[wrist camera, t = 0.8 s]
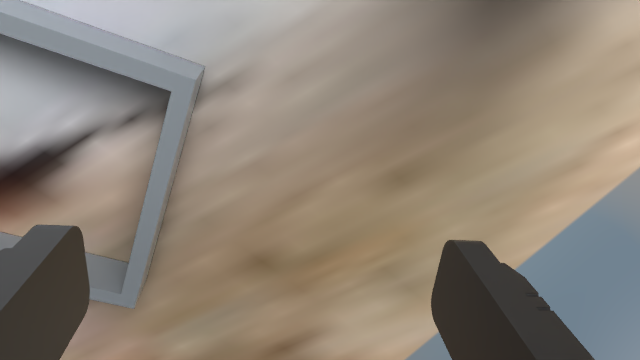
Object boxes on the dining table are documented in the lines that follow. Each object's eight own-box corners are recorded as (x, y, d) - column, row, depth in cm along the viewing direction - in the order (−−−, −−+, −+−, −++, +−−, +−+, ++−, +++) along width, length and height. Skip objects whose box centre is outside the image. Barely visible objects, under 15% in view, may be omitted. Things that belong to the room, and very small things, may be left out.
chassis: (-138, -56, 21) (-224, -58, 17) (205, 66, 25) (192, 85, 21) (-119, 307, 30) (-171, 354, 27) (125, 354, 34) (107, 400, 31)
